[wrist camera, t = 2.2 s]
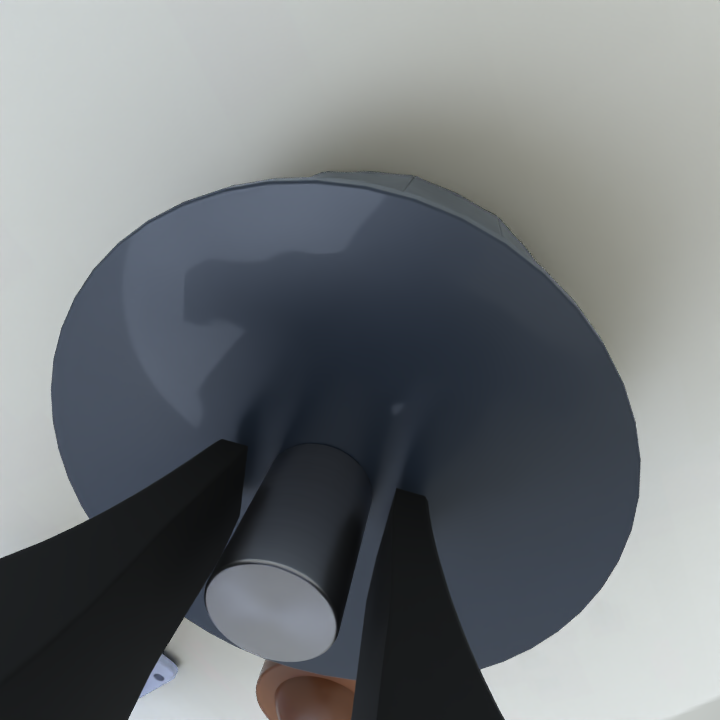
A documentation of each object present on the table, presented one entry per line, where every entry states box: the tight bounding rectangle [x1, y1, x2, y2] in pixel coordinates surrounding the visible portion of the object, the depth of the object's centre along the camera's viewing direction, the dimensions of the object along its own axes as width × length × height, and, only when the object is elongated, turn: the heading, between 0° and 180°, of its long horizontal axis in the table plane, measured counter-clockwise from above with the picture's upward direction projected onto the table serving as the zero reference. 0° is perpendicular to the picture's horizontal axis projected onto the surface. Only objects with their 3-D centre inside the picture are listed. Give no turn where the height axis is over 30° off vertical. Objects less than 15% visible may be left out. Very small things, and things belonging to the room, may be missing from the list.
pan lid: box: [51, 177, 641, 680], centre depth 11 cm, size 13×13×4 cm
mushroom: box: [256, 659, 356, 720], centre depth 21 cm, size 5×5×5 cm
